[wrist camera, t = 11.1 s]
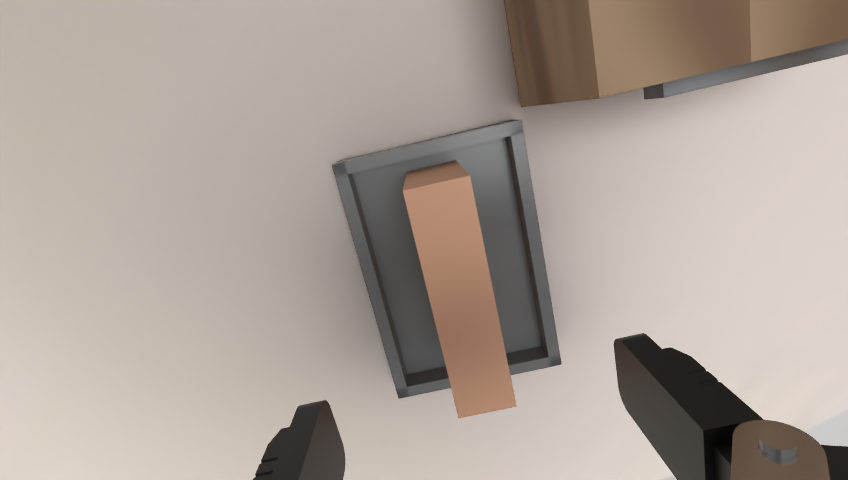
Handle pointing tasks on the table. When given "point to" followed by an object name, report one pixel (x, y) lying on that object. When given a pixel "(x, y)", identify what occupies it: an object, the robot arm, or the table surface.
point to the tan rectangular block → (459, 286)
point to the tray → (400, 265)
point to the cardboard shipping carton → (663, 44)
